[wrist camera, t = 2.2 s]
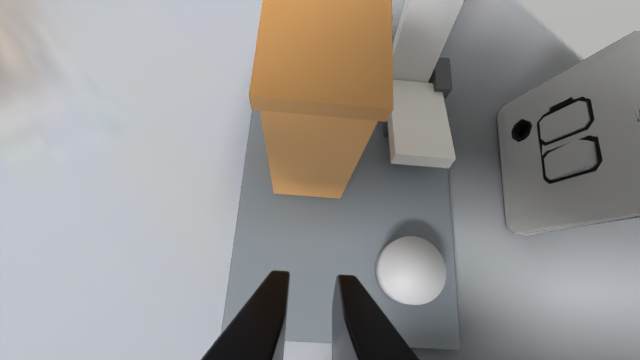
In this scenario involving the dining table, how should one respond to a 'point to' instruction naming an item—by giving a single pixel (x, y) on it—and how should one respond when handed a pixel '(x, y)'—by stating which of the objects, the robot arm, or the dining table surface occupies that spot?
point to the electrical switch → (575, 145)
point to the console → (352, 242)
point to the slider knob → (321, 88)
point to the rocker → (419, 126)
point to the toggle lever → (422, 37)
